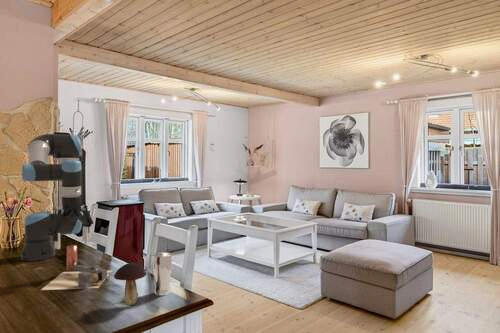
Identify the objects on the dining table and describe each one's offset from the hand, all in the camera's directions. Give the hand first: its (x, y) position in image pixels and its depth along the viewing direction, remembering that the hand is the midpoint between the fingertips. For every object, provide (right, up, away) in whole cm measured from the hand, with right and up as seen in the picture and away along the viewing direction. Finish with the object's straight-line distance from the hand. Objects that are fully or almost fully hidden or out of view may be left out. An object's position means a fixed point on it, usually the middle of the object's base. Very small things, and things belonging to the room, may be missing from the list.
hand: (71, 244), depth 150 cm
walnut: (+14, -13, -11) cm, 22 cm away
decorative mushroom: (+35, -15, -27) cm, 47 cm away
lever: (+8, -12, -4) cm, 15 cm away
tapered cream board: (+6, -14, -6) cm, 17 cm away
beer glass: (+44, -15, -16) cm, 49 cm away
